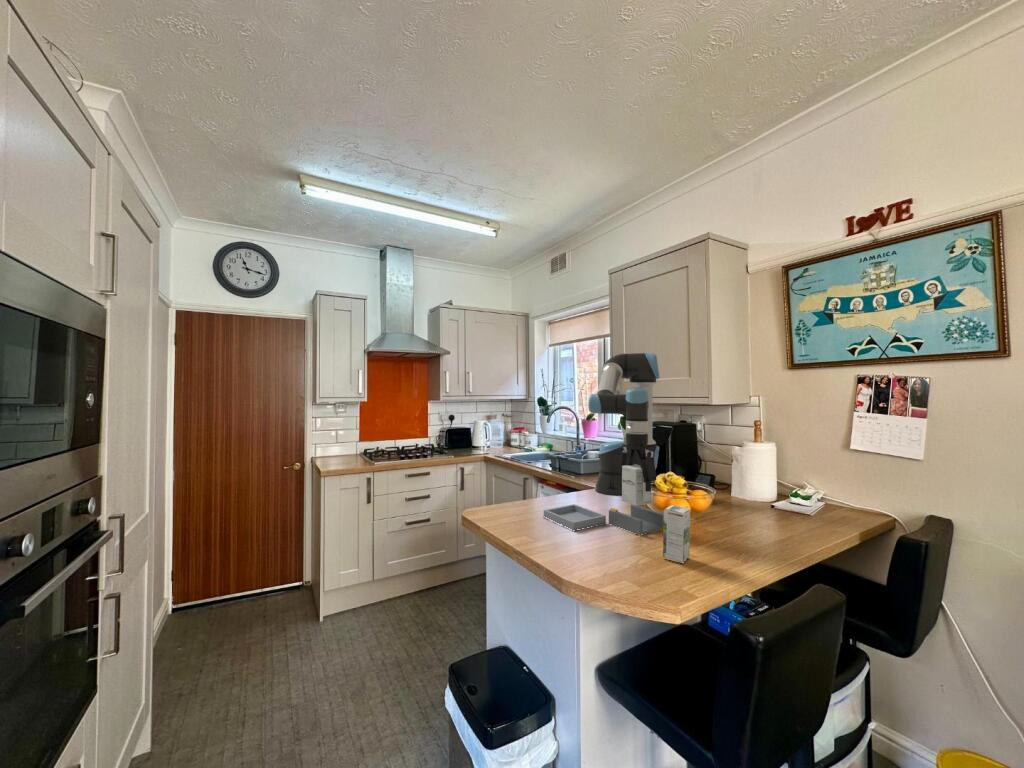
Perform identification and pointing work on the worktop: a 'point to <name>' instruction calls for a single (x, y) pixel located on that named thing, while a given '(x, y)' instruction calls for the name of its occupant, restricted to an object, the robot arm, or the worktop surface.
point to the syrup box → (676, 533)
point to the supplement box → (633, 485)
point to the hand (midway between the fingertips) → (636, 497)
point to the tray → (575, 516)
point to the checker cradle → (637, 520)
